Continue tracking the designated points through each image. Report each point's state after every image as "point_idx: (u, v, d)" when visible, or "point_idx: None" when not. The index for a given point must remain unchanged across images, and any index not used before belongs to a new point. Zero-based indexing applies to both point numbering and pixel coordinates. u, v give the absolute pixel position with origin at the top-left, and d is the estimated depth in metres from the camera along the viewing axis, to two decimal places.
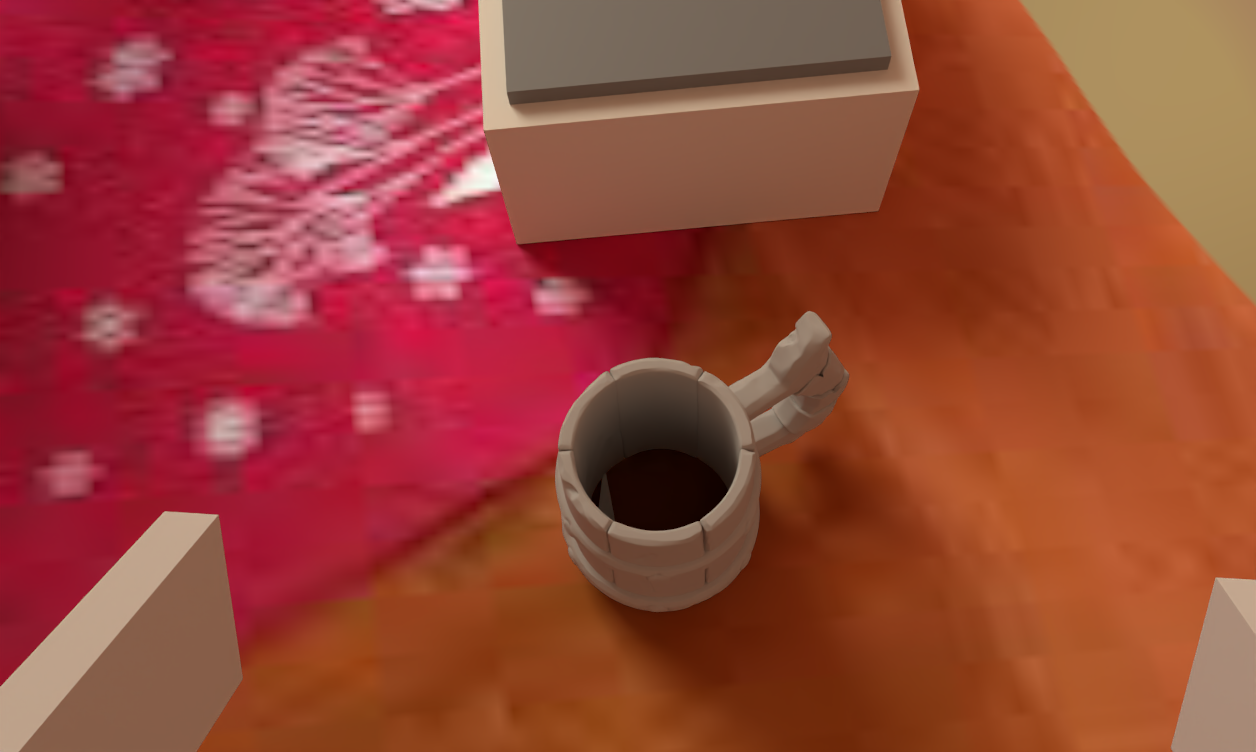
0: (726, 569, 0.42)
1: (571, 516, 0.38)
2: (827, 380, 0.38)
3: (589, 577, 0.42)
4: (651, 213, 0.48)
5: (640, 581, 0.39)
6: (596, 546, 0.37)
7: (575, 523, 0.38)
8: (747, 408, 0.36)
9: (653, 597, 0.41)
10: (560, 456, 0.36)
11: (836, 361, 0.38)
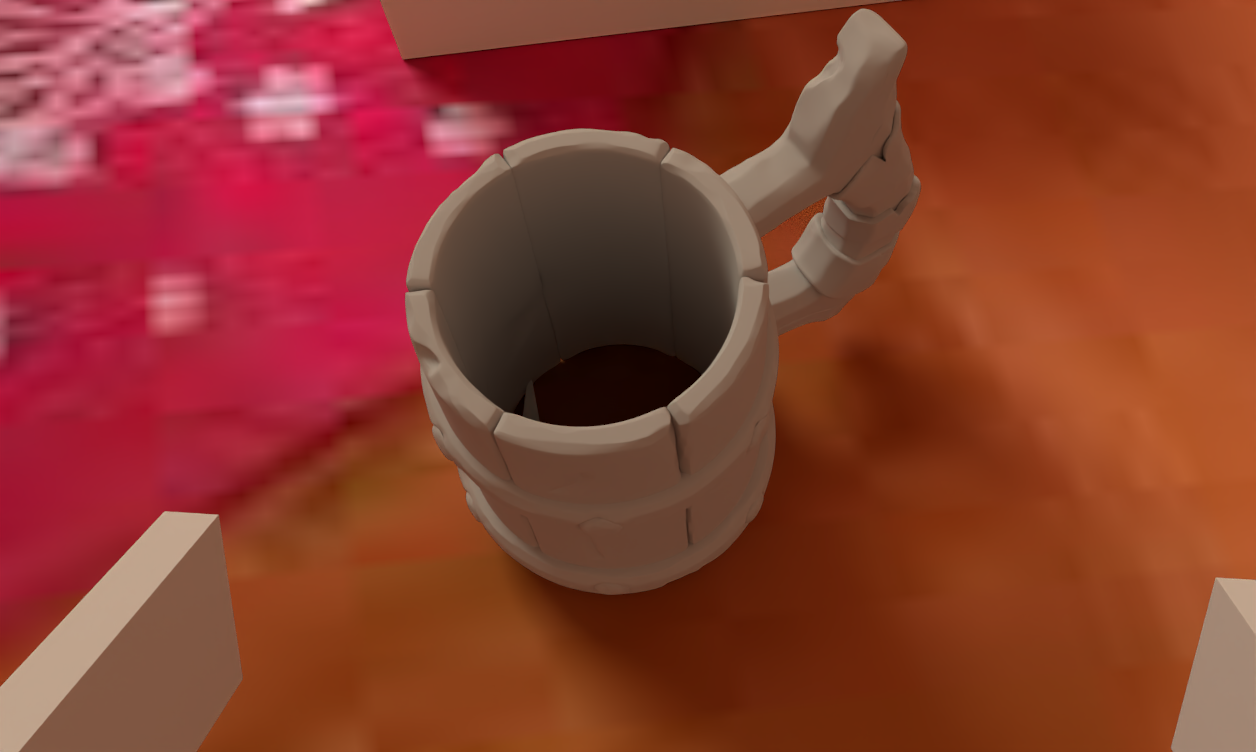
0: (723, 520, 0.25)
1: (445, 421, 0.21)
2: (890, 175, 0.22)
3: (499, 540, 0.26)
4: None
5: (575, 538, 0.23)
6: (488, 471, 0.21)
7: (452, 433, 0.21)
8: (751, 210, 0.20)
9: (603, 570, 0.25)
10: (409, 299, 0.19)
11: (904, 143, 0.22)
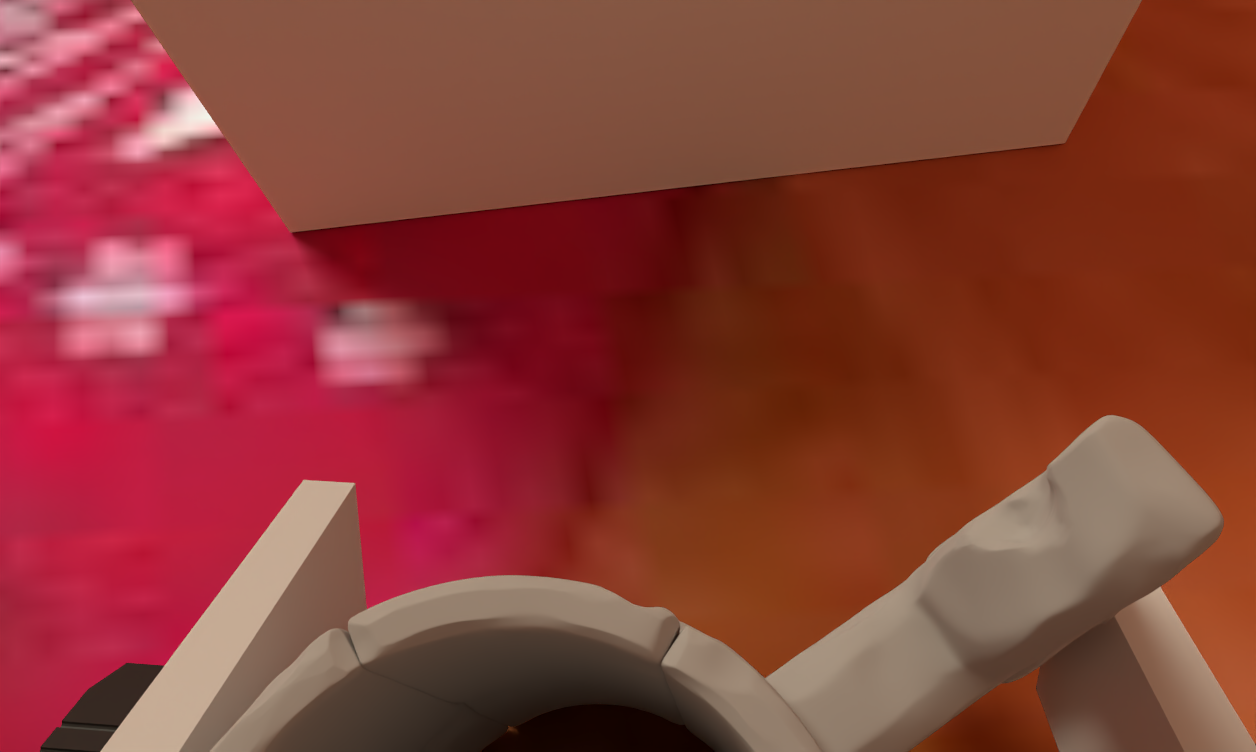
0: None
1: None
2: None
3: None
4: (571, 154, 0.22)
5: None
6: None
7: None
8: None
9: None
10: None
11: None
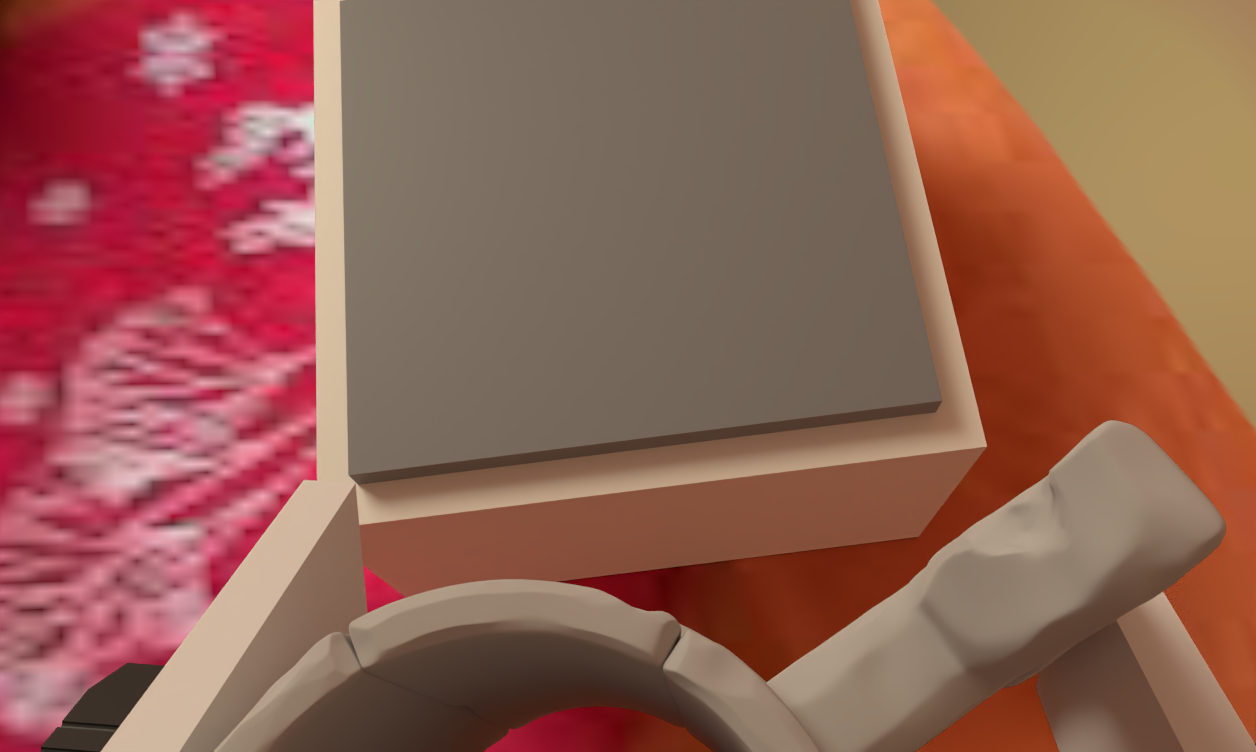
0: None
1: None
2: None
3: None
4: (595, 564, 0.33)
5: None
6: None
7: None
8: None
9: None
10: None
11: None
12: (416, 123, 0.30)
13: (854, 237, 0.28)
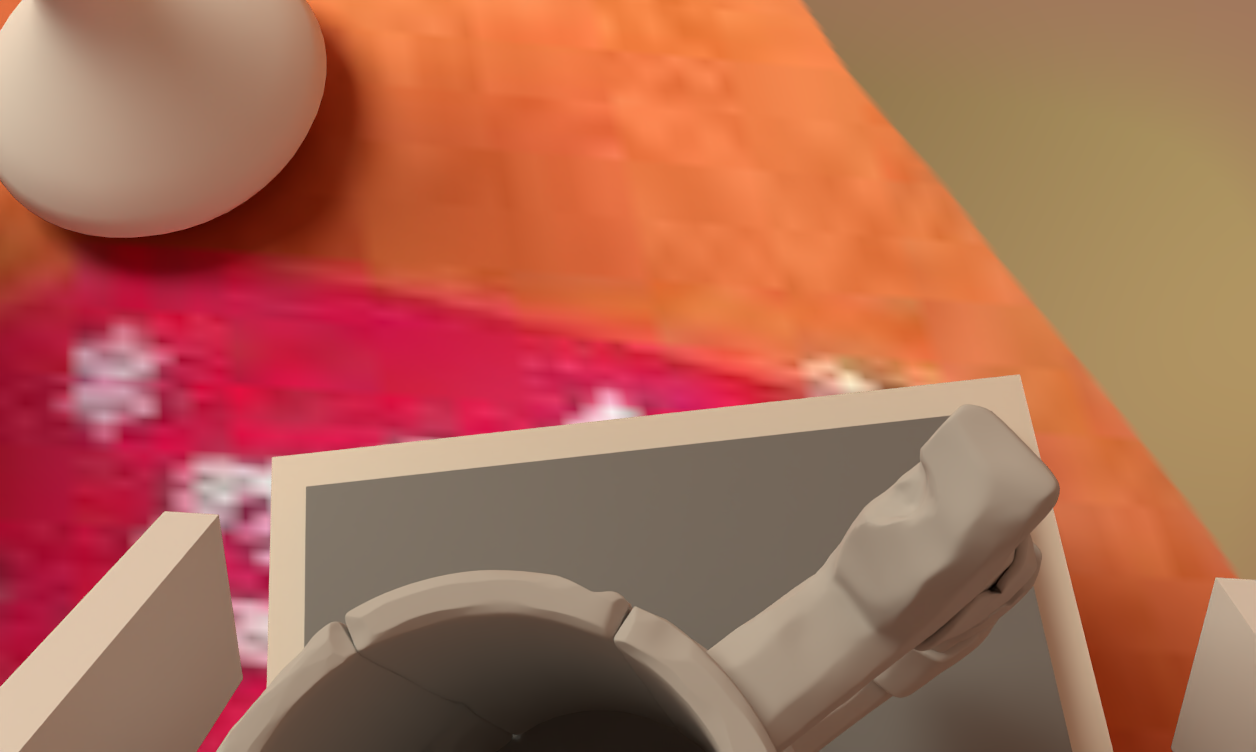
0: None
1: None
2: (1005, 594, 0.13)
3: None
4: None
5: None
6: None
7: None
8: (776, 722, 0.11)
9: None
10: None
11: None
12: None
13: None
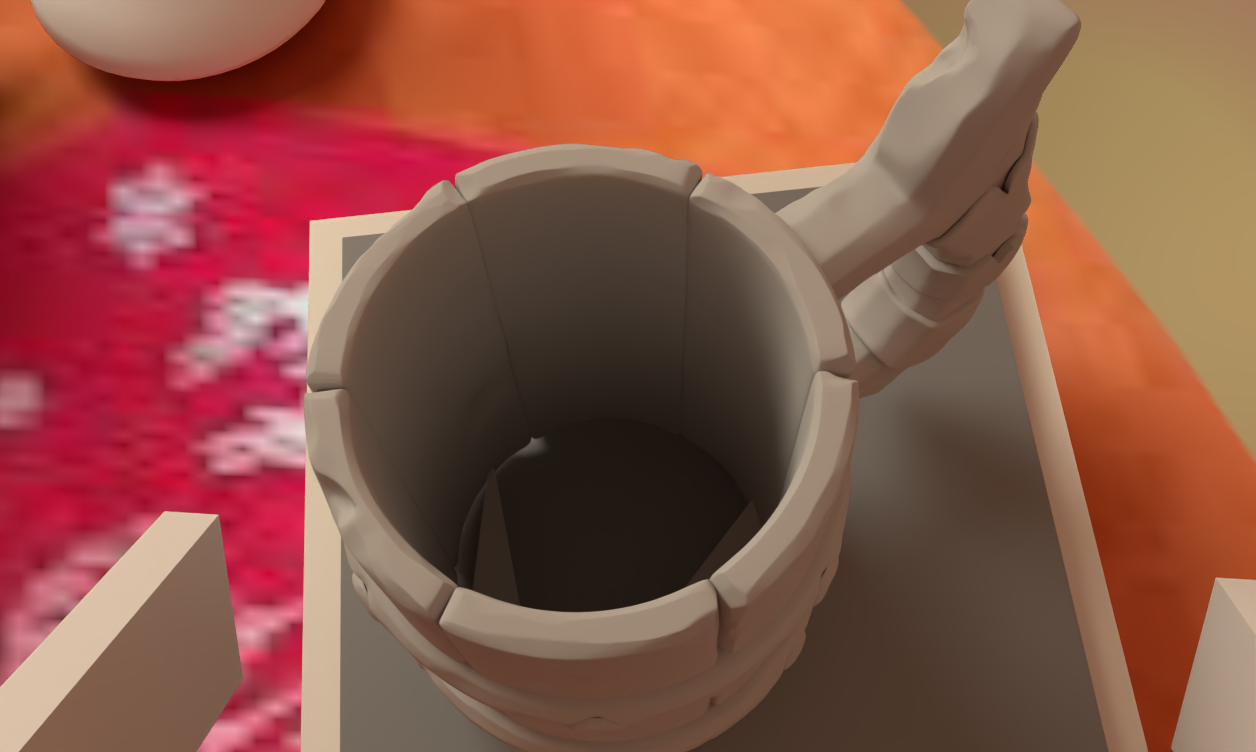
0: (755, 672, 0.19)
1: None
2: (1006, 211, 0.15)
3: (450, 699, 0.19)
4: None
5: None
6: (433, 648, 0.14)
7: (380, 588, 0.15)
8: (825, 267, 0.14)
9: (593, 744, 0.18)
10: (309, 405, 0.13)
11: None
12: None
13: (1008, 606, 0.21)
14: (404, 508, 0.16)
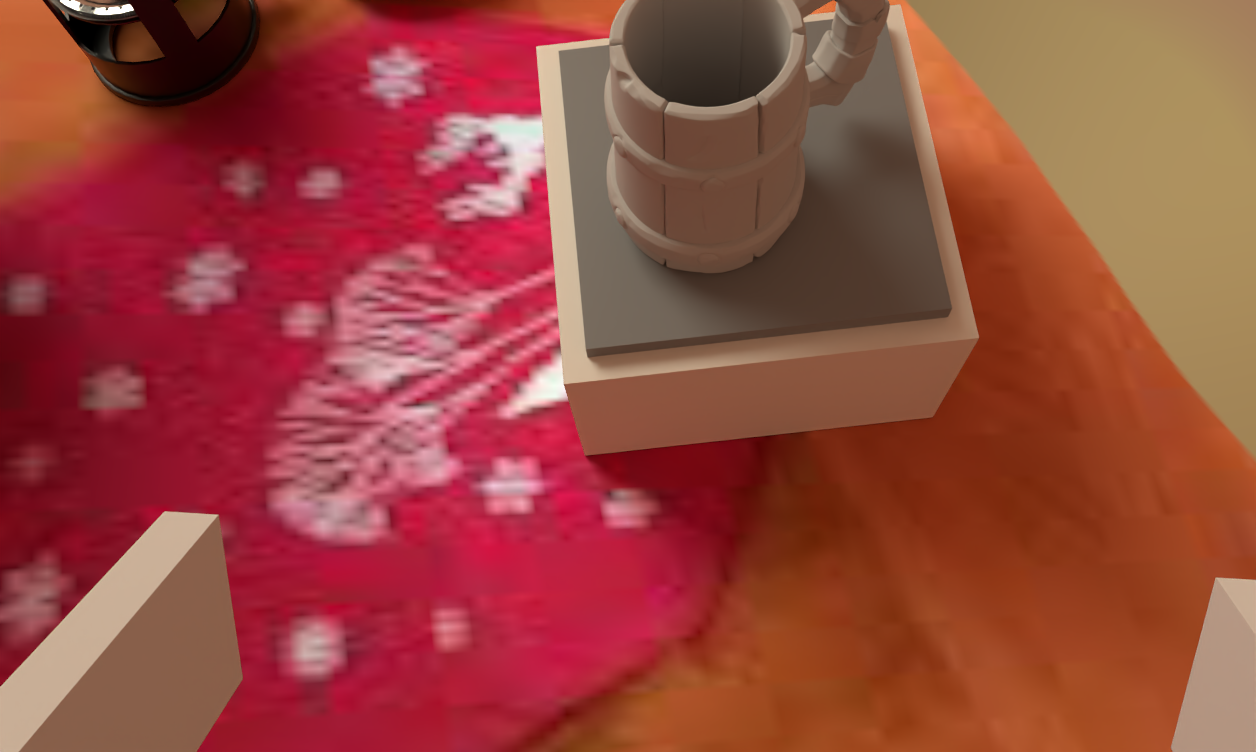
0: (775, 215, 0.42)
1: (623, 131, 0.38)
2: None
3: (638, 233, 0.42)
4: (716, 429, 0.50)
5: (693, 210, 0.39)
6: (650, 155, 0.37)
7: (627, 137, 0.38)
8: (795, 1, 0.37)
9: (704, 245, 0.41)
10: (612, 49, 0.36)
11: None
12: None
13: (897, 208, 0.44)
14: None
